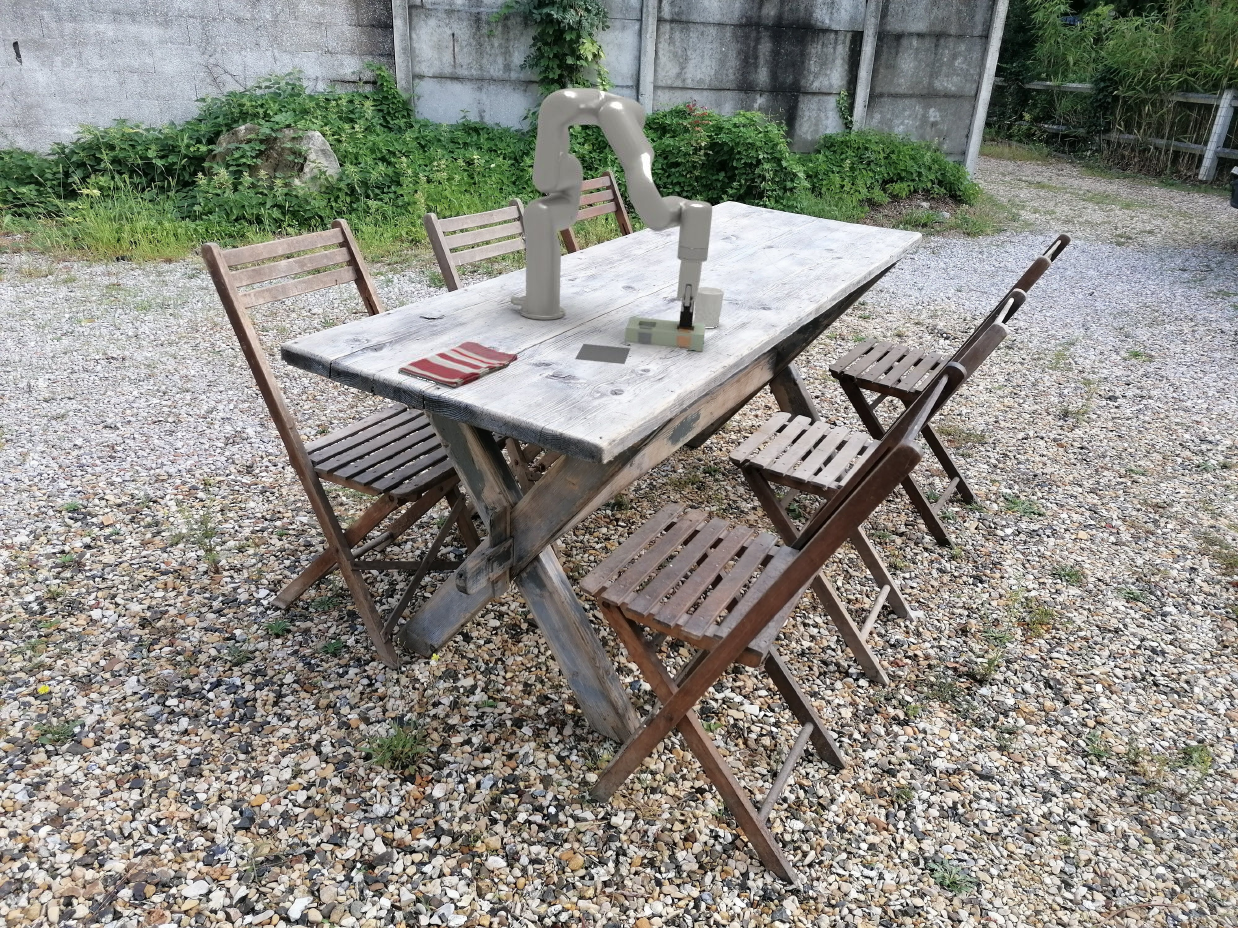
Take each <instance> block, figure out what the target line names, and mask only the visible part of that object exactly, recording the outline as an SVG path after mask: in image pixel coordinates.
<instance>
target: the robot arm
mask: <svg viewBox="0 0 1238 928" xmlns="http://www.w3.org/2000/svg"><path fill="white" fill-rule="evenodd" d="M538 111H539V112H538V118H537V134H536V135H537V136H536V143H535V150H534V159H533V168H532V183H533V185H534V187H535V189H536V190H538V191H539V192H541V193H544V194H549V195H546V196H542V197H537V198H535V199H533V200H531V201H529V203H527V204H526V206H525V208H524V210H523V212H522V224H523V230H524V237H525V296H523V295H522V297H520V296H519V297H518V296H514V295H513V296H511V297H510V303H511V304H512V305H513V306H521V307H520V308H519V314H520V315H521V316H522V317H525V318H527V319H533V320H542V321H546V320H548V321H549V320H556V319H560V318H563V317H564V316H566V309H564V308H563V307H562V306H560V304H561V302H560V301H561V300H560V299H561V298H560V297H561V265H562V263H561V262H562V258H561V257H562V250H561V249H562V248H561V243H560V240H559V235H558V232H561V231H565V230H567V229H569V228H571V227H572V226H573V225H575V222H576V221H577V219H578V215H579V209H580V202H581V196H582V189H583V182H584V172H583V166H582V164H581V162H580V160H579V159H578V157H576V156H575V155H573V154H572V153H569V151H570V149H569V148H570V141H571V140H570V139H571V138H570V132H569V127H570V126H584V125H585V126H586V125H595V126H597V127H600V129H601V131H602V133H603V135H604V137H605V139H606V140H607V142H608V143H609V145H610V147H611V149H612V150H613V153H614V155H615V156H616V157H617V159H618V161H619V163H620V165H621V167H622V168H623V169H622V170H624V175H625V177H624V178H625V184H626V190H627V194H628V197H629V200H630V202H631V204H632V206H633V208H634V210H635V211H636V213H637V215H638V216H639V218H640V220H641V221H642V224H644V225H645V226H646V228H648V229H649V230H651V231H654V232H663V231H666V230H670V229H673V228H677V227H679V234H678V245H677V255H676V257H677V258H676V259H678V260H680V266H679V273H678V283H677V284H678V285H677V294H676V300H678V301H680V300H681V305H682V309H681V308H680V313H679V321H680V322H679V326H680V327H692V323H694V320H693V321H692V318H693V319H694V311H693V312H692V308H693V301H694V302H695V300H696V297H697V293H698V289H699V287H700V281H701V275H702V266H703V263H705V262H707V261H708V255H709V248H710V246H709V245H710V238H711V237H710V236H711V226H712V218H713V206H712V204H711V203H710V202H707V201H703V200H690V199H687V198H683V197H681V196H677V195H669V196H663V197H662V195H661V194H660V192H659V190H658V189H657V187H656V184H655V183H654V180H653V176H652V165H653V161H654V158H655V151H654V148H653V147H652V145H651V144H650V142H649V140H648V138H647V136H646V135H645V133H644V131H643V128H644V127H645V125H646V118H647V117H646V112H645V110H644V107H642V105H641V104H640V103H639V102H638V101H637V100H635V99H632V98H630V97H629V98H628V97H624V96H621V95H618V94H615V93H612V92H608V91H605V90H602V89H597V88H591V87H588V88H587V87H586V88H585V87H583V88H582V87H571V88H569V87H568V88H563V89H562V88H561V89H558V90H556V91H553V92H552V93H550V94H549V95H547V96H546V97H545V99H543V101H542V103H541V104H540V107H539V110H538ZM682 297H683V299H682ZM684 297H685V299H684ZM690 298H692V300H690ZM684 302H685V303H684ZM690 303H691V304H690Z"/></svg>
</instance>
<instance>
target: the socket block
mask: <svg viewBox="0 0 1238 928" xmlns="http://www.w3.org/2000/svg"><path fill="white" fill-rule="evenodd" d="M679 322H680V320H679V321H678V320H669V319H668V320H666V319H658V318H657V319H656V318H649V317H648V318H647V317H635V316H630V318H629V319H628V322H627V323H626V327H625V335H624V336H625V339H624V342H625V343H634V344H643V345H644V344H645V345H653V346H654V345H655V346H666V347H674V348H676V347H677V348H685V349H686V350H687V349H688V350H696V351H695V352H697V351H702V352H703V351H704V350H703V349H704V344H703V343H704V342H705V333H706V328H705V326H706V324H702V323H694V322H692V331H691V330H687V329H679V328H680V326H679Z"/></svg>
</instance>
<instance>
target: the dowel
mask: <svg viewBox="0 0 1238 928" xmlns="http://www.w3.org/2000/svg"><path fill="white" fill-rule="evenodd" d="M682 299H683V297H682ZM682 299H681V300H682ZM684 299H685V297H684ZM690 300H692V298H690ZM684 303H685V302H684ZM690 304H691V303H690ZM680 307H681V308H680V310H681V309H682V304H681V306H680ZM694 308H695V301H693V308H692V312H693V311H694ZM693 313H694V312H693ZM692 321H693V322H694V317H693V318H692ZM679 329H687V330H691V331H692V327H680V328H679Z"/></svg>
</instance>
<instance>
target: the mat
mask: <svg viewBox="0 0 1238 928" xmlns="http://www.w3.org/2000/svg"><path fill="white" fill-rule="evenodd" d="M630 351H631V347H623V346H622V347H621V346H612V345H611V346H608V345H602V344H601V345H600V344H599V345H598V344H589V343H583V344H582V346H581V347H580V349H579V351H578V353H577V355H576V356H575V358H574V360H580V361H591V362H599V363H600V362H602V363H611V364H620V365H625V363H626V361H627V359H628V356H629V354H630Z"/></svg>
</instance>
